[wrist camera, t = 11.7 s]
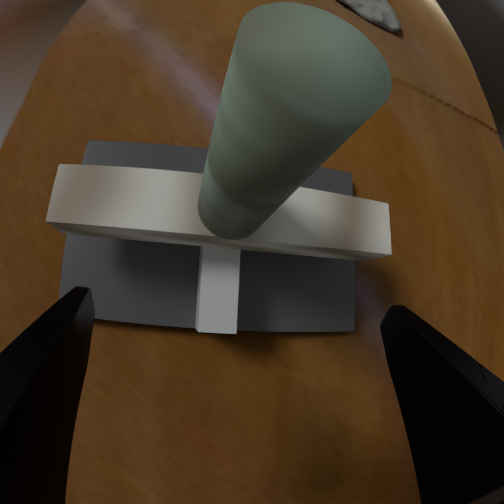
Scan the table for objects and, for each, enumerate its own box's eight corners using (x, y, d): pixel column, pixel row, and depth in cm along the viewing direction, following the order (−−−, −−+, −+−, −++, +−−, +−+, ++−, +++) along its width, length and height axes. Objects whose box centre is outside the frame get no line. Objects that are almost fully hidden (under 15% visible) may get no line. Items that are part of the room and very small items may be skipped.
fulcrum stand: (347, 330, 22) (378, 333, 18) (63, 312, 17) (38, 313, 13) (345, 178, 24) (371, 157, 20) (91, 147, 20) (77, 117, 16)
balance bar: (365, 213, 19) (526, 126, 7) (367, 263, 18) (549, 206, 6) (73, 181, 15) (-27, 15, 3) (62, 235, 15) (-89, 110, 3)
